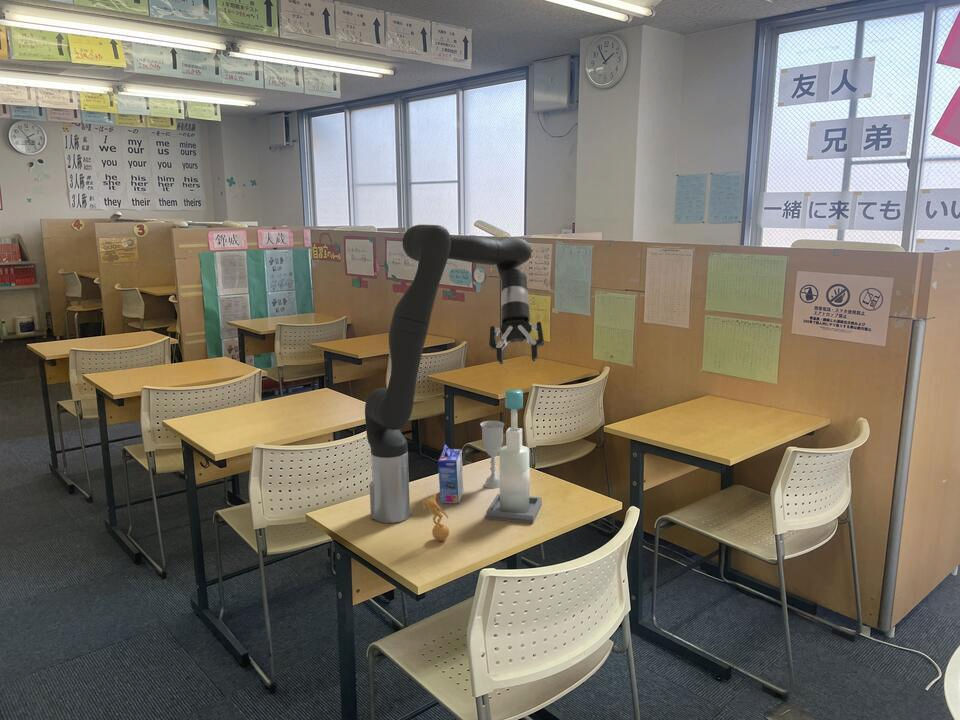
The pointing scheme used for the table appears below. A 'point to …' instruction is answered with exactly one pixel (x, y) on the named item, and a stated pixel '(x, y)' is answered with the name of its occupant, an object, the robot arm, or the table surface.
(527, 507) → the pump bottle
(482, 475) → the table surface
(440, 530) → the figurine
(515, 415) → the pump plunger
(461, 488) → the ink cartridge box
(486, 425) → the chalice
